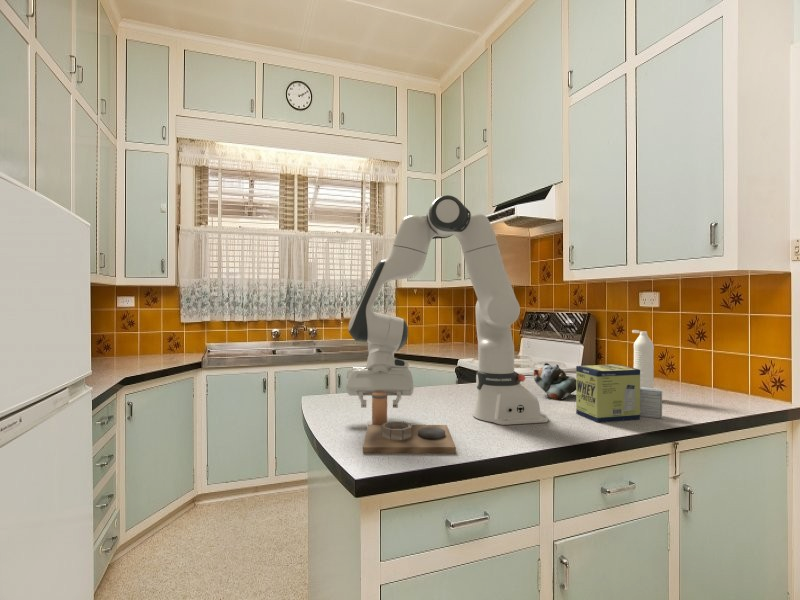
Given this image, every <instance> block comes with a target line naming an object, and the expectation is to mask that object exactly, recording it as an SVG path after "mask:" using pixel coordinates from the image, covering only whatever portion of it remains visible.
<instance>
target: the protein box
mask: <svg viewBox="0 0 800 600" xmlns="http://www.w3.org/2000/svg"><path fill="white" fill-rule="evenodd" d="M575 367H576V368H575V373H576V375H575V376H576V377H575V379H576V390H575V393H576V394H575V395H576V396H575V399H576V401H575V402H576V403H575V405H576V406H575V407H576V408H575V414H577V415H579V416H581V417H583V418H586V419H589V420H591V421H593V422H594V423H596V424H597V423H609V422H611V423H612V422H613V423H614V422H624V421H626V422H628V421H637V420H641V416H640V370H639V369H635V368H634V367H631V366H626V365H621V364H615V363H614V364H597V365H596V364H595V365H576V366H575Z"/></svg>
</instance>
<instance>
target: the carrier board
mask: <svg viewBox="0 0 800 600" xmlns="http://www.w3.org/2000/svg"><path fill="white" fill-rule="evenodd" d="M456 449H457V447H456V444H455V442H454V439H453V436H452V435H451V431H450V429H449V427H448V425H447V424H411V423H410V422H406V421H401V420H399V421H396V420H391V421H387V423H383V424H382V425H372V424H368V425H367V428H366V433H365V437H364V442H363V445H362V454H363V453H409V455H410V453H414V454H418V453H419V454H420V453H430V454H457V453H456V452H457V451H456ZM419 454H418V455H419Z"/></svg>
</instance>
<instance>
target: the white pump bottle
mask: <svg viewBox="0 0 800 600" xmlns="http://www.w3.org/2000/svg"><path fill="white" fill-rule="evenodd" d="M631 332H632V334H639V335H638V337H637V338H636V340H635V341H634V342H633V368H635V369H639V370H640V387H649V388H654V384H655V383H654V371H655V370H654V369H655V368H654V367H655V365H654V364H655V363H654V361H655V360H654V352H655V351H654V350H655V349H654V347H655V345H654V343H653V341H652V339H651V338H650V337H649V335H648V331H645V330H644V331H643V330H639V329H638V330H637V329H632V330H631Z"/></svg>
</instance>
